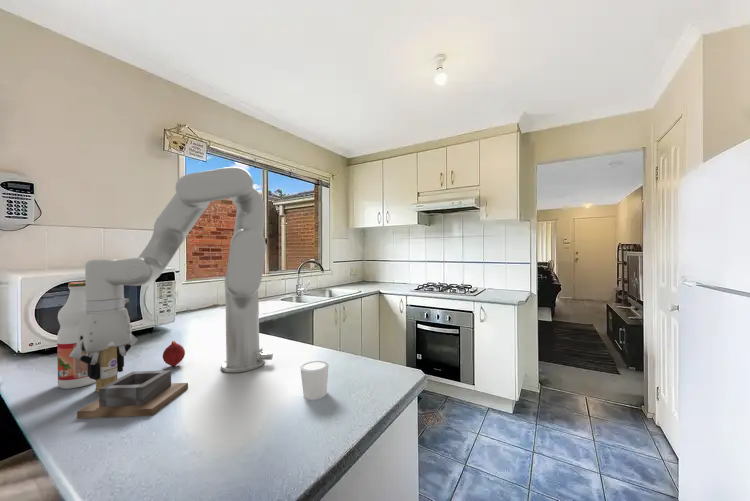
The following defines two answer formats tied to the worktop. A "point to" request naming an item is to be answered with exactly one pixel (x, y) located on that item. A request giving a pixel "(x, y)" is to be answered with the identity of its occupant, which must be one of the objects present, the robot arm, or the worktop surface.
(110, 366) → the sprinkles bottle
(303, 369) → the white cup
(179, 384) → the socket stand
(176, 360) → the onion
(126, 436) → the worktop surface
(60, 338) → the fruit juice
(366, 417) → the worktop surface
